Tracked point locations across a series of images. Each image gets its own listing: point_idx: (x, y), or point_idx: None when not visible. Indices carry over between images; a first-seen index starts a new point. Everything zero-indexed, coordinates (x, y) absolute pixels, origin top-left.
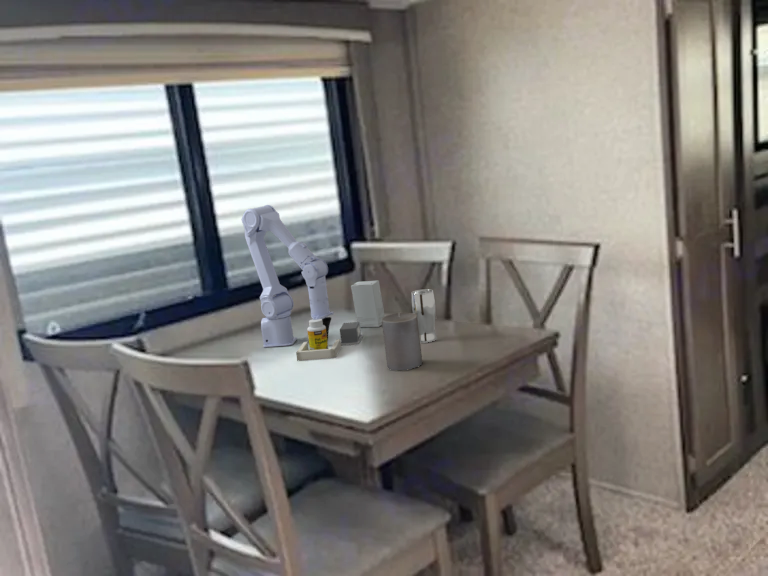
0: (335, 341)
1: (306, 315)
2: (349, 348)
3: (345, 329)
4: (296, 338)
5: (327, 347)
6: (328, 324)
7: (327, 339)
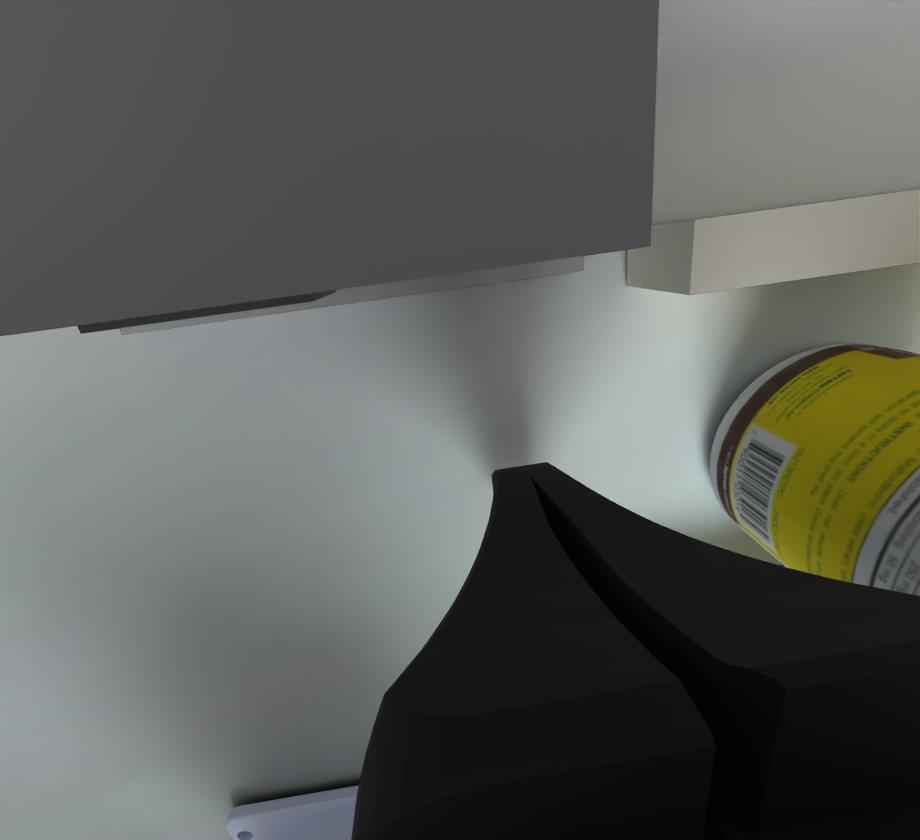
0: (825, 270)
1: None
2: (742, 56)
3: (653, 53)
4: (260, 811)
5: (902, 352)
6: (796, 594)
7: (550, 470)
